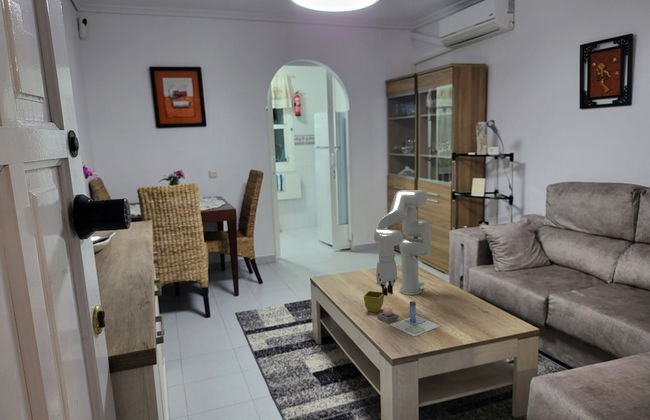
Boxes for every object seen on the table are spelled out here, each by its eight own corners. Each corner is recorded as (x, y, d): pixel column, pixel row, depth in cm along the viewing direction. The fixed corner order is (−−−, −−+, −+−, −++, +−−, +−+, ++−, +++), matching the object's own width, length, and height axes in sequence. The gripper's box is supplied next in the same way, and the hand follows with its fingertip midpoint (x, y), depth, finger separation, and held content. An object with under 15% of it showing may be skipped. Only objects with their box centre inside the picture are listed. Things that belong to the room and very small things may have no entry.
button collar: (388, 315, 223) (388, 310, 223) (398, 319, 218) (398, 314, 217) (378, 318, 220) (378, 314, 219) (387, 323, 214) (387, 318, 213)
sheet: (415, 316, 221) (415, 315, 221) (440, 326, 208) (440, 325, 207) (390, 325, 212) (390, 324, 211) (414, 336, 198) (414, 335, 198)
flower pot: (385, 308, 233) (384, 292, 231) (379, 314, 225) (379, 298, 223) (369, 306, 236) (368, 290, 235) (363, 312, 228) (363, 296, 227)
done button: (388, 312, 221) (388, 307, 221) (394, 314, 218) (394, 309, 217) (381, 314, 219) (381, 309, 218) (387, 317, 215) (387, 312, 215)
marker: (412, 320, 215) (412, 300, 213) (417, 322, 212) (417, 302, 211) (408, 321, 213) (408, 302, 212) (412, 323, 211) (412, 304, 209)
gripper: (393, 253, 221) (394, 288, 224) (368, 260, 212) (370, 296, 215) (404, 256, 215) (404, 292, 218) (378, 263, 206) (380, 300, 209)
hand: (387, 294), depth 217 cm, fingers open, 2 cm apart
